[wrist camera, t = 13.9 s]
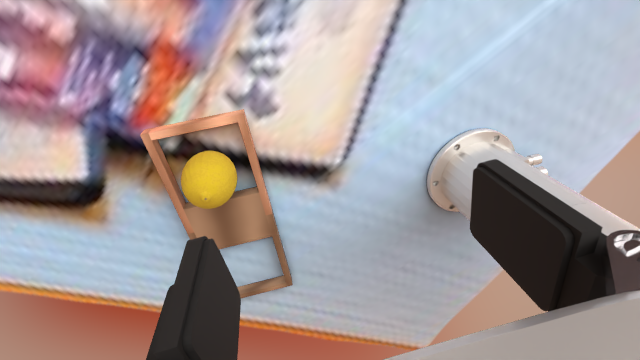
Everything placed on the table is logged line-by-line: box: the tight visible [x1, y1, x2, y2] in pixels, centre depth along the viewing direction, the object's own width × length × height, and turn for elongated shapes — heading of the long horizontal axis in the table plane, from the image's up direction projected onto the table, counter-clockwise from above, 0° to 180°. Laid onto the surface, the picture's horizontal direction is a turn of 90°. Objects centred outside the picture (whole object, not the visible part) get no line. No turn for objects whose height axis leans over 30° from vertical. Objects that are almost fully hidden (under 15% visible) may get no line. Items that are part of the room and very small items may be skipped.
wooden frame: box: [141, 109, 292, 298], centre depth 40 cm, size 11×27×2 cm, turn 9°
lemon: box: [181, 151, 237, 209], centre depth 33 cm, size 6×6×8 cm
